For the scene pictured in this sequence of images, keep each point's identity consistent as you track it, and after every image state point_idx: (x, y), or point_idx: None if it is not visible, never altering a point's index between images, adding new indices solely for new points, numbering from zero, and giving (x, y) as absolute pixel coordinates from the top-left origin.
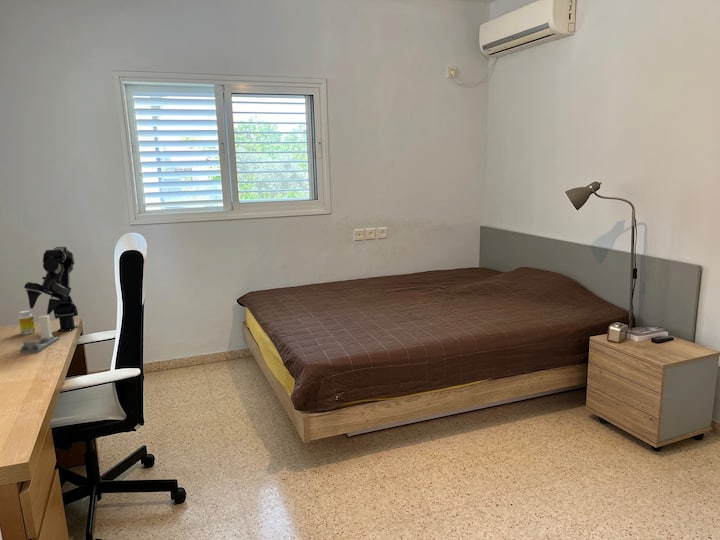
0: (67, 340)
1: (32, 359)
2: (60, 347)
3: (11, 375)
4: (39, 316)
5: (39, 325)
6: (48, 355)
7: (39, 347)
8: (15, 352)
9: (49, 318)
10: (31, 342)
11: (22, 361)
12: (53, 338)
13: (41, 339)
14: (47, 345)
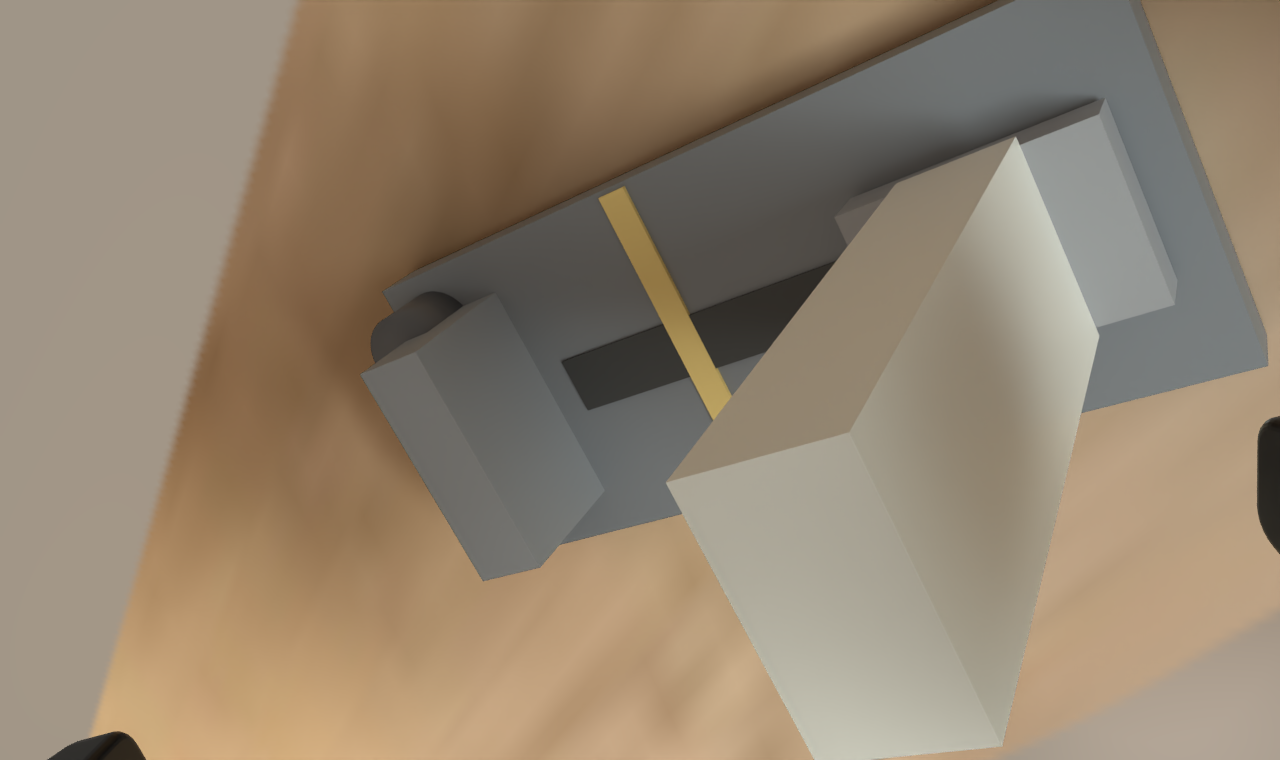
0: None
1: (395, 641)
2: None
3: None
4: (723, 491)
5: (787, 324)
6: (567, 736)
7: (615, 485)
8: (392, 129)
9: (1014, 653)
10: (444, 509)
11: (303, 574)
12: None
13: (851, 240)
14: None
